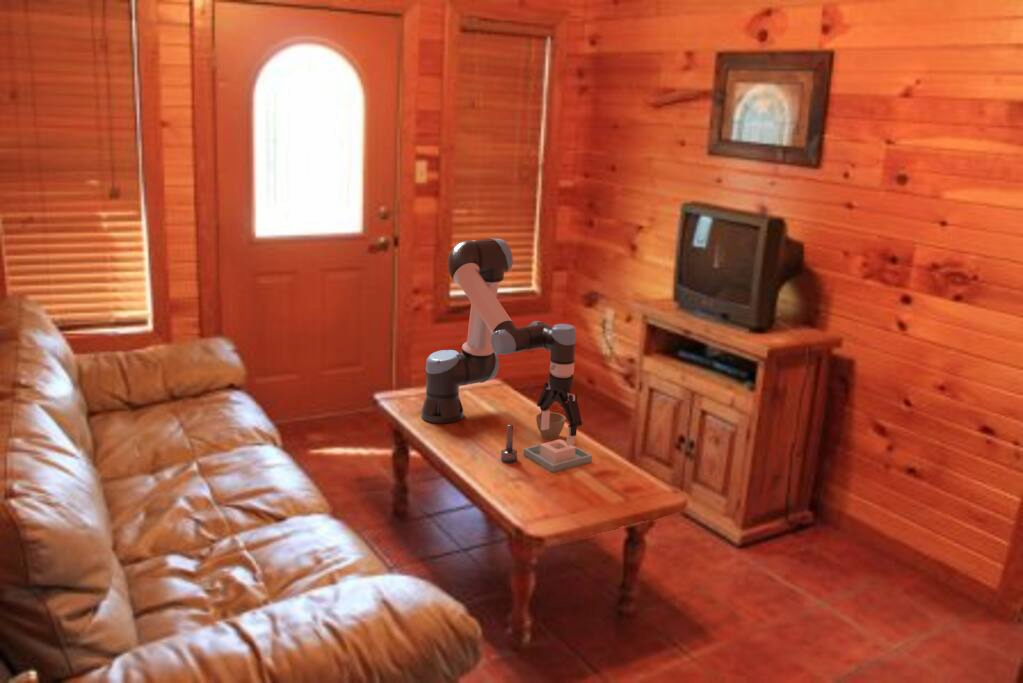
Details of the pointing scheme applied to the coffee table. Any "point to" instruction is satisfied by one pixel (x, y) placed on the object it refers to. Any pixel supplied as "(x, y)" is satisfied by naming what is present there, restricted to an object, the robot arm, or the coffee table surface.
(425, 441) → the coffee table surface
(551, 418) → the flower pot
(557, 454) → the ring
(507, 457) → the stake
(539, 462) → the tray
